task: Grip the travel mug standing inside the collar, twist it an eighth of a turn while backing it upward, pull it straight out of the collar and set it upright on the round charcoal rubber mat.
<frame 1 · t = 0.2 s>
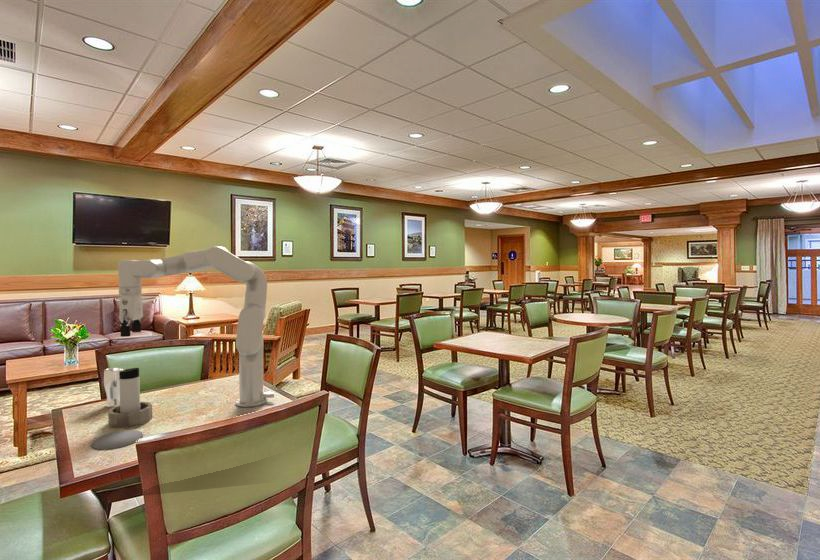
hand: (131, 334, 168), 31 cm above the table, tool pointing down, fingers open, 9 cm apart
travel mug: (130, 421, 159), resting in collar
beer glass: (114, 405, 176), on the table
mat: (118, 440, 142), on the table
collar: (130, 420, 159), on the table
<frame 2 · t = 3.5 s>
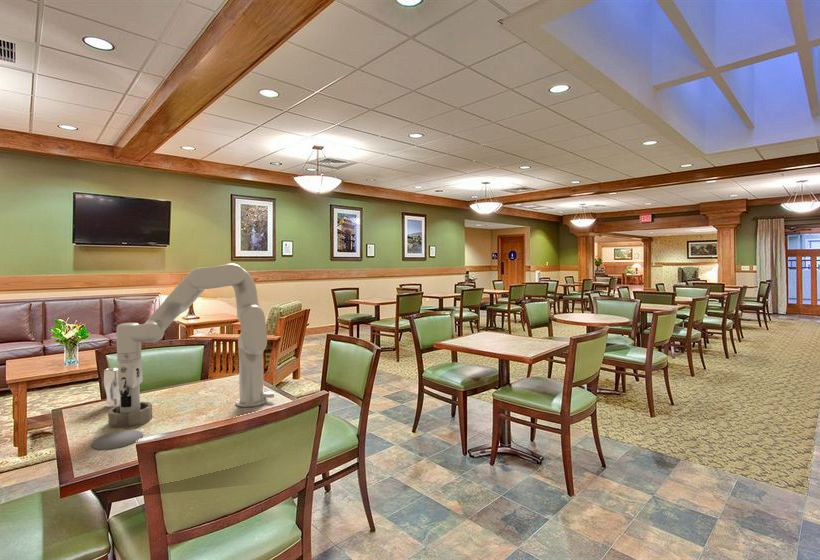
hand: (130, 403, 159), 7 cm above the table, tool pointing down, fingers closed on travel mug, 6 cm apart
travel mug: (130, 421, 159), resting in collar, touching gripper
everything else where it was.
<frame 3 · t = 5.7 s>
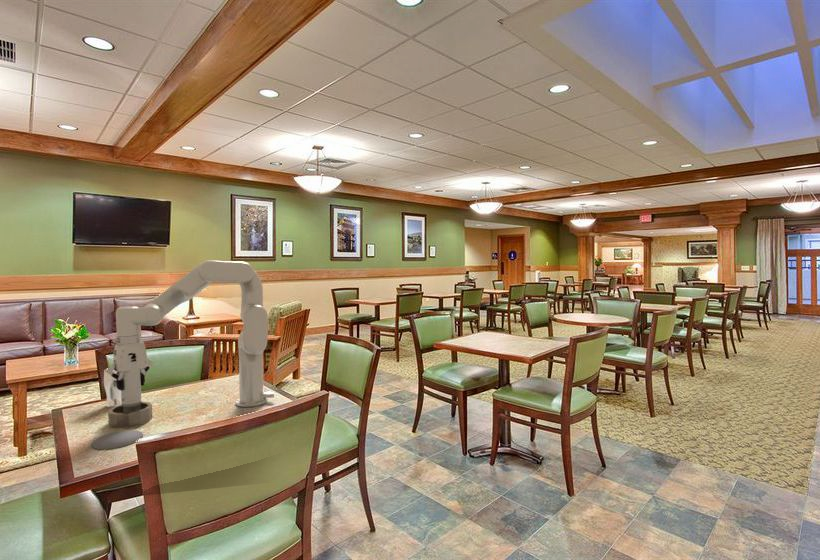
hand: (131, 386, 158), 13 cm above the table, tool pointing down, fingers closed on travel mug, 6 cm apart
travel mug: (131, 405, 159), point 6 cm above the table, touching gripper
everything else where it was.
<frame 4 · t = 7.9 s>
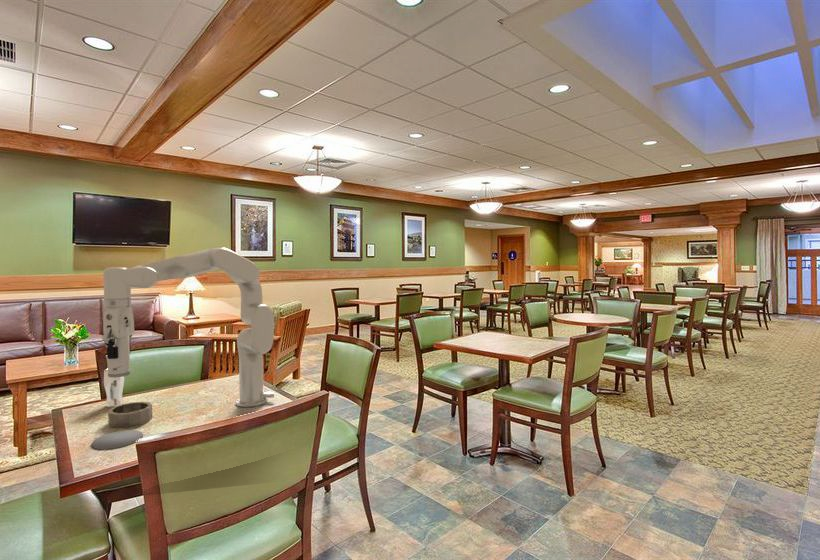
hand: (119, 355, 144), 28 cm above the table, tool pointing down, fingers closed on travel mug, 6 cm apart
travel mug: (119, 375, 145), point 21 cm above the table, touching gripper
everything else where it was.
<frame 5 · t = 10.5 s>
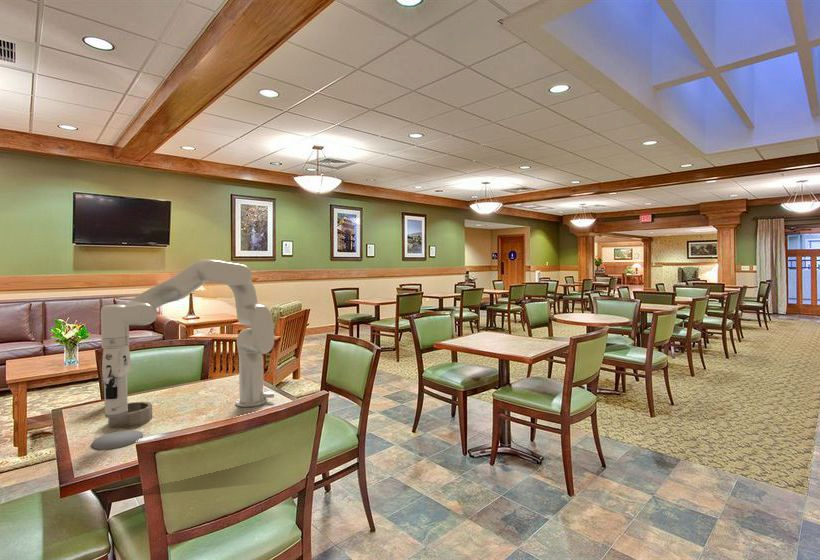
hand: (116, 395, 141), 15 cm above the table, tool pointing down, fingers closed on travel mug, 6 cm apart
travel mug: (116, 415, 141), point 8 cm above the table, touching gripper
everything else where it was.
when the fingers open (9 cm above the table, at t = 12.7 s): travel mug drops 1 cm, resting on mat.
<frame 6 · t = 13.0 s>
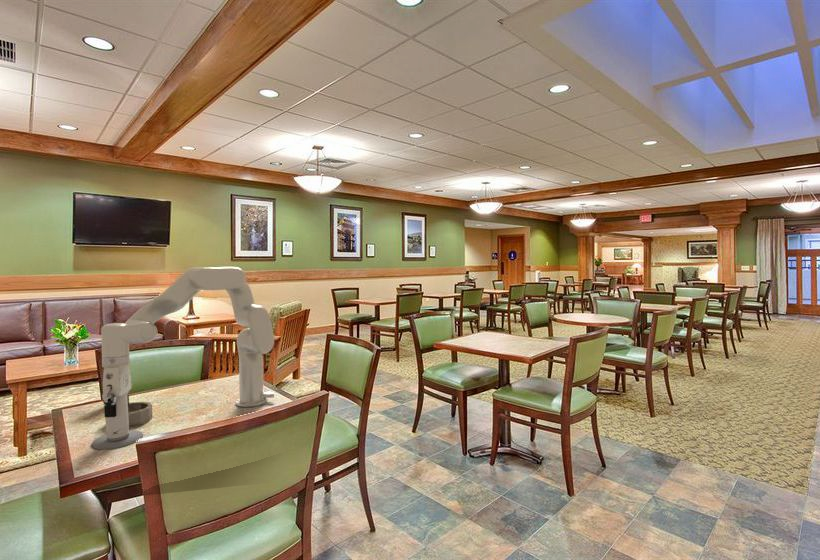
hand: (117, 411, 141), 10 cm above the table, tool pointing down, fingers open, 9 cm apart
travel mug: (118, 438, 142), point 1 cm above the table, touching mat
everything else where it was.
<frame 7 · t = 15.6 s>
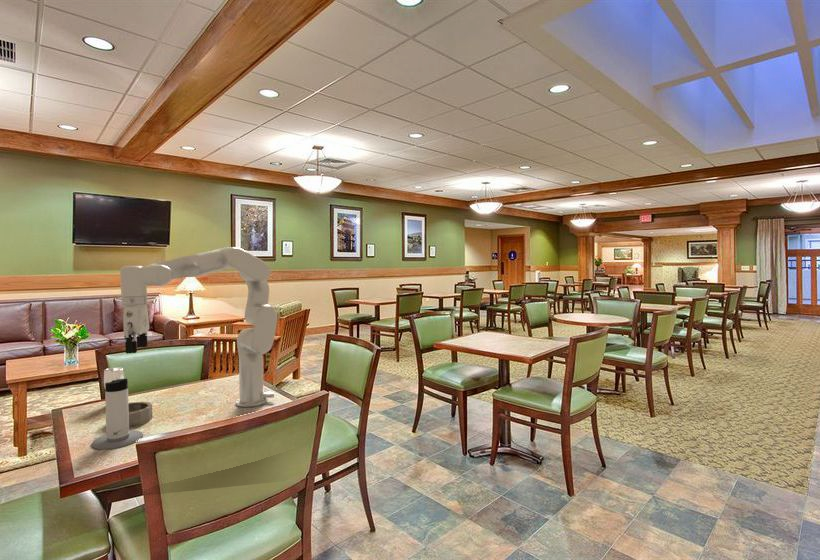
hand: (137, 349, 148), 29 cm above the table, tool pointing down, fingers open, 9 cm apart
nothing on the table moved.
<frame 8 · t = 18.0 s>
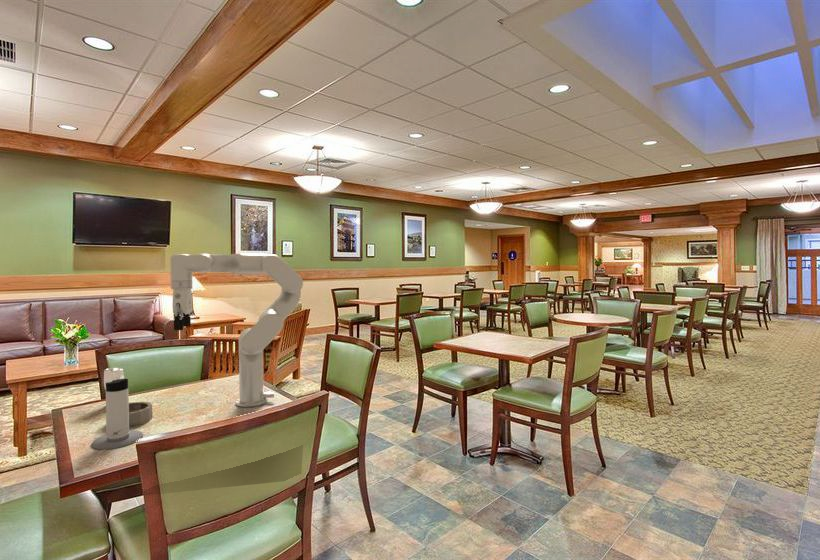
hand: (182, 328, 169), 33 cm above the table, tool pointing down, fingers open, 9 cm apart
nothing on the table moved.
at the end: travel mug 0.2 cm from the mat (horizontally); travel mug tilted 0°; the gripper is holding nothing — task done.
